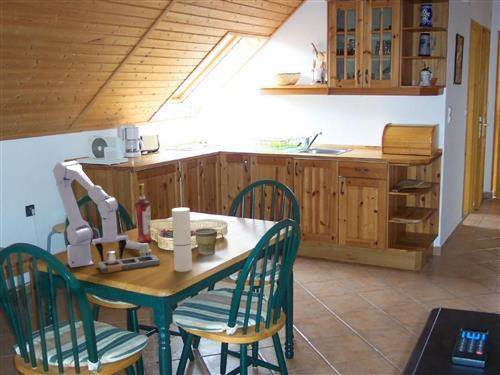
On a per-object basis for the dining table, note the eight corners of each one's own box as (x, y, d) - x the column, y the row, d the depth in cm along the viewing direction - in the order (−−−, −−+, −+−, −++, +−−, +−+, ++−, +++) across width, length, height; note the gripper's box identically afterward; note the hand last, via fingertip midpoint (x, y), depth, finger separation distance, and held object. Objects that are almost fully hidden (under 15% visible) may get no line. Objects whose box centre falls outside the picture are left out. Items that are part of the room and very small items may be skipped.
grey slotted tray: (102, 273, 251) (102, 268, 251) (98, 267, 260) (97, 262, 259) (159, 264, 261) (159, 259, 261) (153, 259, 269) (153, 254, 269)
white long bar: (128, 237, 292) (152, 240, 272) (129, 251, 293) (154, 255, 272) (117, 239, 289) (141, 243, 269) (119, 253, 290) (143, 258, 269)
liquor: (143, 239, 303) (139, 182, 298) (155, 240, 300) (152, 183, 295) (133, 242, 297) (130, 185, 292) (146, 244, 294) (143, 186, 289)
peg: (108, 270, 255) (107, 254, 254) (106, 267, 259) (105, 251, 257) (118, 269, 257) (117, 252, 255) (116, 266, 260) (115, 250, 259)
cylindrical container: (192, 265, 258) (190, 207, 254) (191, 271, 251) (188, 210, 247) (175, 266, 258) (172, 207, 254) (173, 271, 251) (170, 211, 247)
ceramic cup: (192, 254, 274) (191, 232, 273) (200, 248, 284) (199, 227, 282) (219, 256, 270) (219, 234, 269) (227, 250, 280) (226, 228, 278)
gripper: (93, 231, 248) (95, 264, 251) (129, 227, 254) (131, 259, 256) (90, 228, 254) (92, 259, 257) (125, 223, 260) (127, 255, 263)
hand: (111, 259), depth 257 cm, fingers open, 7 cm apart
